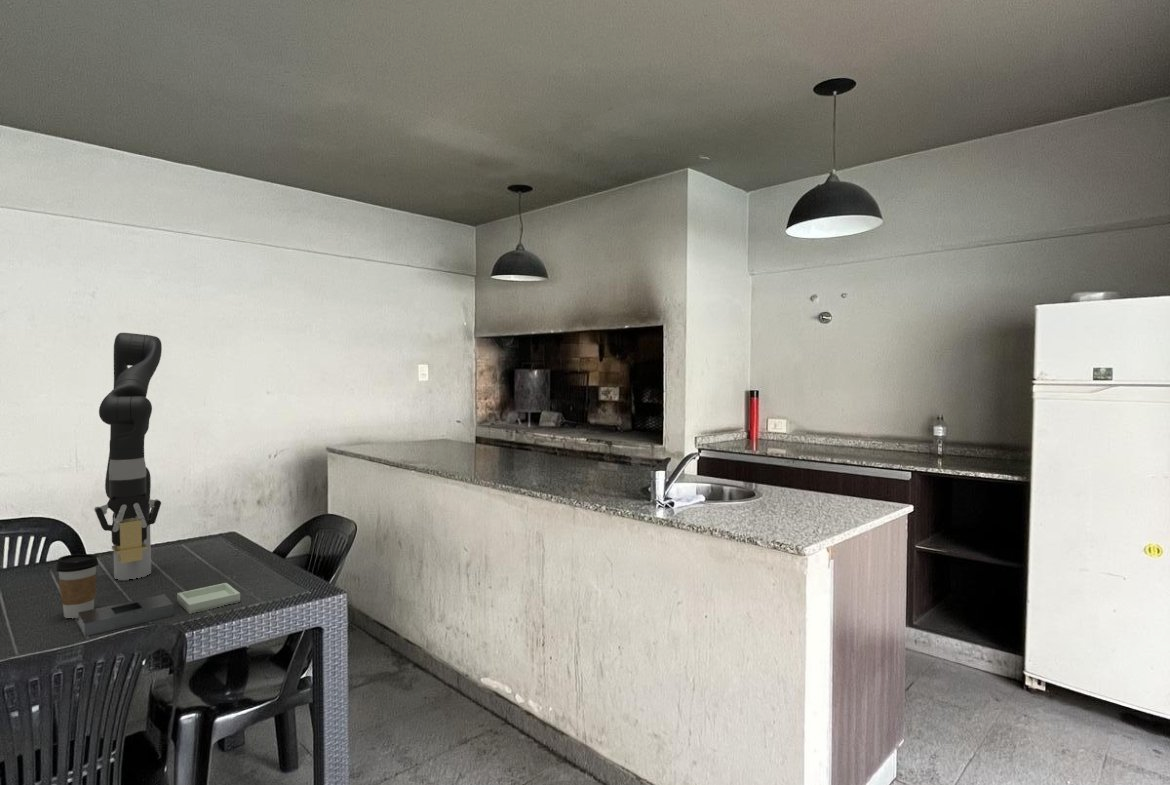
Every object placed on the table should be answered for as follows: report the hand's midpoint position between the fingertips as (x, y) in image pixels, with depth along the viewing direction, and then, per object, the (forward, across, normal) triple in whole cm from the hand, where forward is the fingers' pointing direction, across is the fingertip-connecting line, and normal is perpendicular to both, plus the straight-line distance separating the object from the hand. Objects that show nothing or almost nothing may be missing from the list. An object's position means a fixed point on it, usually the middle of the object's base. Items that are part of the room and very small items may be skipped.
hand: (129, 543), depth 159 cm
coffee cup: (+19, +9, -13) cm, 25 cm away
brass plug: (+4, 0, 0) cm, 4 cm away
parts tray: (+19, -17, +1) cm, 26 cm away
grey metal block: (+19, +1, 0) cm, 19 cm away
